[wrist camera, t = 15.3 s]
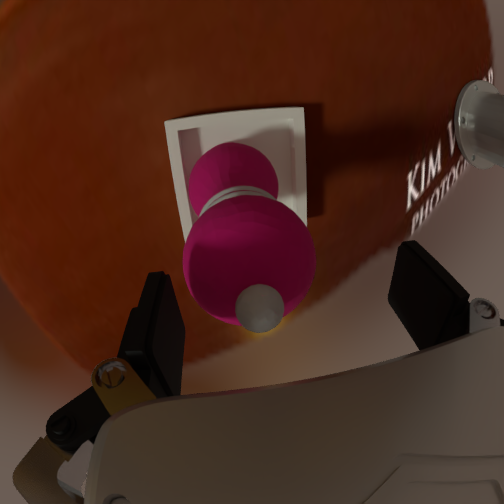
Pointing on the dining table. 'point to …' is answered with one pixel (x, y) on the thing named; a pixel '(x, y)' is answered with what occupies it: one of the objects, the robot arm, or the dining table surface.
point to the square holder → (249, 133)
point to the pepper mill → (245, 241)
